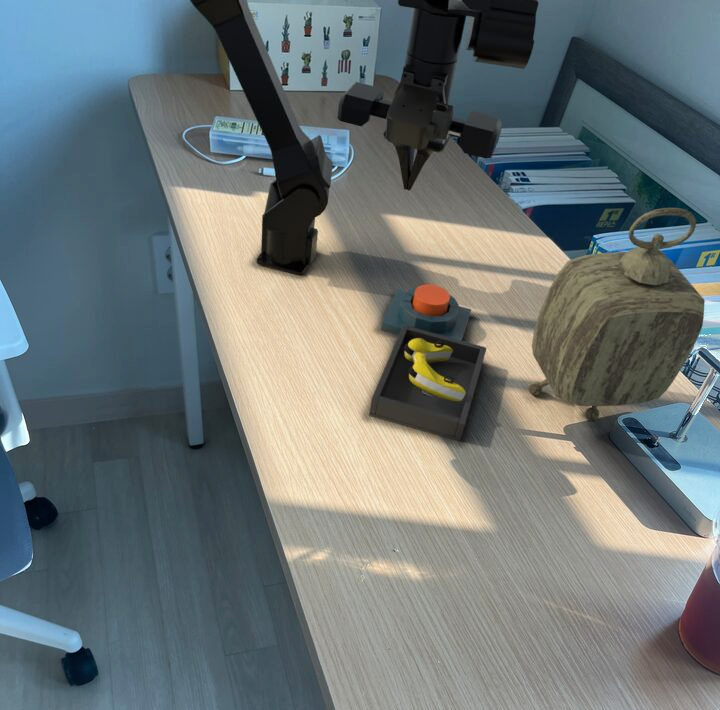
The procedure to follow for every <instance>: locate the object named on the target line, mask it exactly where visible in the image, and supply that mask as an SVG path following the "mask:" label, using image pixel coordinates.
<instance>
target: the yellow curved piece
mask: <svg viewBox="0 0 720 710" xmlns="http://www.w3.org/2000/svg"><path fill="white" fill-rule="evenodd" d="M438 343H442V344H441V345H439V344H438ZM404 350H405V357H406V359H407V360H409V361H412V362H414V363H415V364H414V365H413V366H412V367H410V368H409V379H410V381H411V382H412V384H414V385H415V386H416V387H417V388H420V390H422V393H423V395H425V396H431V397H432V396H433V395H435V396H437V397H440V398H444V399H447V400H452V401H462V399H463V398H464V396H465V394H466V392H465V390H464V389H463V387H461V386H460V385H458V384H456V383H454V379H453V377H452V376H446V377H450V378H451V379H452V381H450V380H448V379H446V377H445V378H444V377H442V376H440V375H438V374H437V373H436V372H435V371H434V370H433V369H432V368H431V367H430V366H429V365H428V364H427V362H432V361H444V360H447V359H449V358H450V356H451V354H452V352H453V350H452V349H451V348H450V347H448V346H446V345H443V342H442V341H437V342H436V343H435V344H431V343H429V342H426V341H425V340H423V339H421V338H416V339H413V340H411V341H410V342H409V343H408V344H406V345H405V346H404ZM432 394H433V395H432Z"/></svg>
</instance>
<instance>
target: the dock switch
mask: <svg viewBox="0 0 720 710" xmlns="http://www.w3.org/2000/svg"><path fill="white" fill-rule="evenodd" d="M418 287H419V286H418ZM418 287H412V288H411V289H409V290H407V291H405V290H401V289H396V291H395V293H394V295H393V298H392V300H391V302H390V305H389V307H388V308H387V311H386V313H385V315H384V317H383V320H382V321H381V326H380V331H382V332H386V333H389V334H393V335H396V336H399V333H400V331H401V329H402V326H403V325H406V326H408V327H409V326H410V327H413V328H417V329H421V330H424V331H428V332H432V333H435V334H439V335H443V336H446V337H450V338H454V339H457V340H461V341H463V338H464V336H465V335H464V334H465V332H466V328H467V325H468V323H469V319H470V316H471V312H472V308H468V307H464V306H461V305H460V304H459V303H458V301H457V299H456V297H453V296H452V295H451V294H449V295H450V300H449V304H448V308H447V311H446V313H445V314H443V315H441V316H429V315H426V314H422V313H420V312H418V311H417V310H416V309H414V307H413V299H414V294H415V290H416V289H417V288H418Z"/></svg>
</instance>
